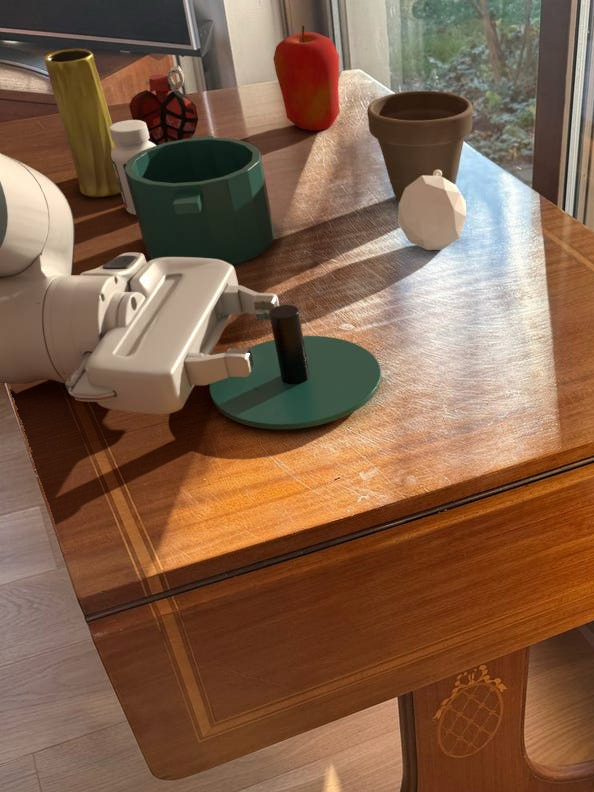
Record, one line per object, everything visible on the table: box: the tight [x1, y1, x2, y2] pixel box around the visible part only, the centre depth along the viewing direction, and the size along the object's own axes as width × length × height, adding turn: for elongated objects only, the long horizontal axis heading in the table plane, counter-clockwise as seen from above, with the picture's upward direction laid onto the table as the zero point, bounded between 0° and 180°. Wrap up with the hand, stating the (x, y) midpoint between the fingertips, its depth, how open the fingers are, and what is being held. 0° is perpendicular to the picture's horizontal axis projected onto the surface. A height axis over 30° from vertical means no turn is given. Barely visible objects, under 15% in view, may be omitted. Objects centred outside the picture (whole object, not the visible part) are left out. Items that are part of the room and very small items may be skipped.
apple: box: [273, 24, 341, 132], centre depth 128 cm, size 9×8×12 cm
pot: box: [124, 135, 275, 266], centre depth 104 cm, size 14×19×8 cm
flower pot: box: [366, 90, 474, 203], centre depth 110 cm, size 12×11×10 cm
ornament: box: [398, 170, 467, 251], centre depth 102 cm, size 7×7×8 cm
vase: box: [43, 48, 121, 199], centre depth 113 cm, size 6×6×14 cm
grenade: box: [128, 65, 199, 146], centre depth 122 cm, size 5×8×10 cm, turn 103°
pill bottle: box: [109, 119, 156, 216], centre depth 111 cm, size 5×5×9 cm
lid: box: [209, 304, 382, 430], centre depth 82 cm, size 15×15×7 cm
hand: (264, 333), depth 81 cm, fingers open, 8 cm apart
